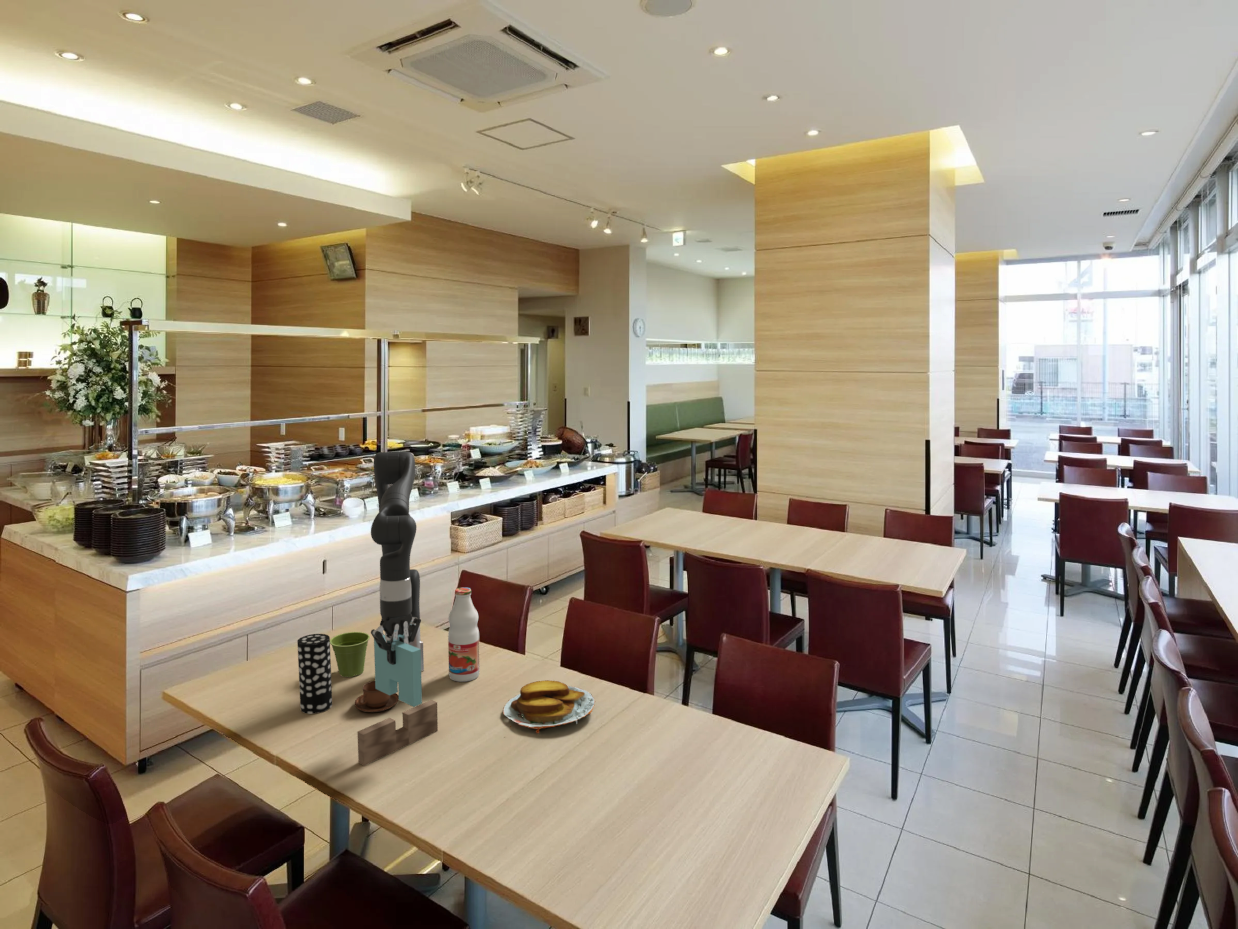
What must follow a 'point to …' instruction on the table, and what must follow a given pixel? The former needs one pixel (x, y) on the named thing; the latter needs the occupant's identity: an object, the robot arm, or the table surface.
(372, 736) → the walnut board
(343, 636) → the plant pot
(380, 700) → the cup and saucer
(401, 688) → the teal plate
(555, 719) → the food on plate
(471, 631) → the fruit juice
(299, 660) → the spotted tube
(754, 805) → the table surface
